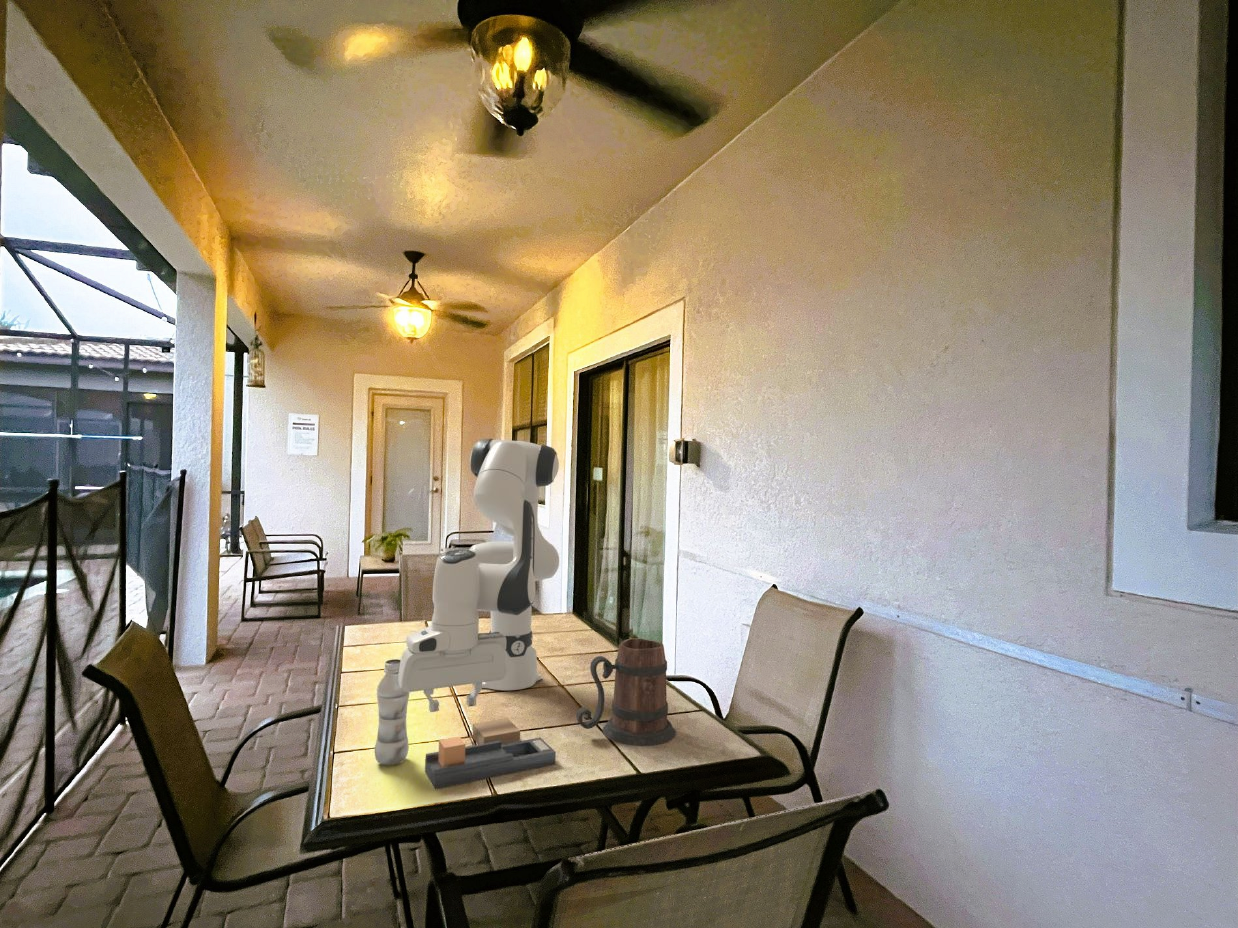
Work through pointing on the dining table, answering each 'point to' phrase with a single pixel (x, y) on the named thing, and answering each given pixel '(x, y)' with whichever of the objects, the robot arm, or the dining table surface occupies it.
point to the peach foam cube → (451, 751)
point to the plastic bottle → (391, 717)
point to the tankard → (634, 695)
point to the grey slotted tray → (490, 762)
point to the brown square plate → (496, 732)
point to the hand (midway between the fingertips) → (452, 707)
